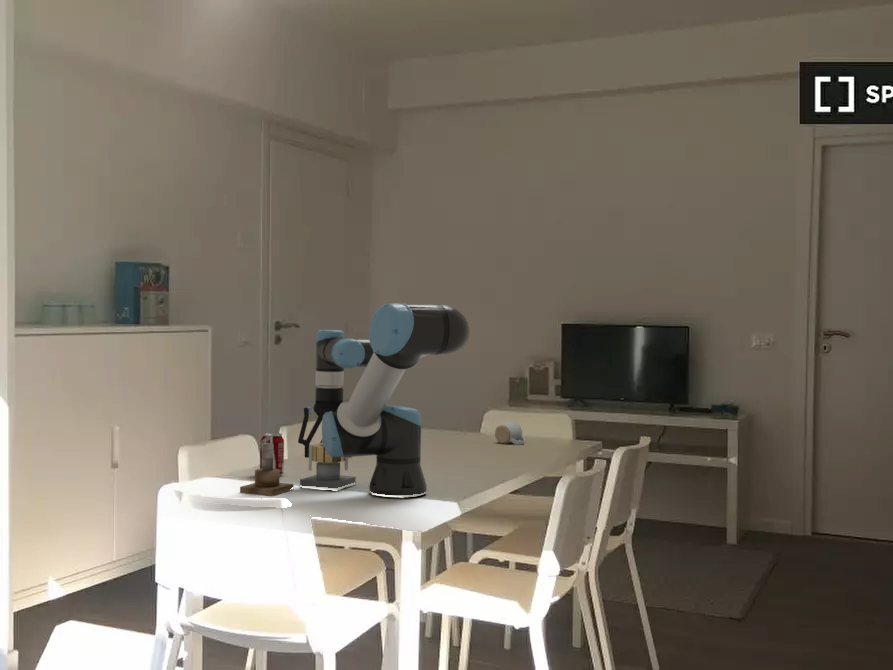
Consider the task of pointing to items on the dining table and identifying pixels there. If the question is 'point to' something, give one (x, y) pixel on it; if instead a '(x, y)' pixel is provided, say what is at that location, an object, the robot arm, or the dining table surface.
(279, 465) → the soda can
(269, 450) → the stand
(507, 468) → the dining table surface
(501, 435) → the ceramic mug
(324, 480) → the hub
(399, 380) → the robot arm
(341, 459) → the collar
